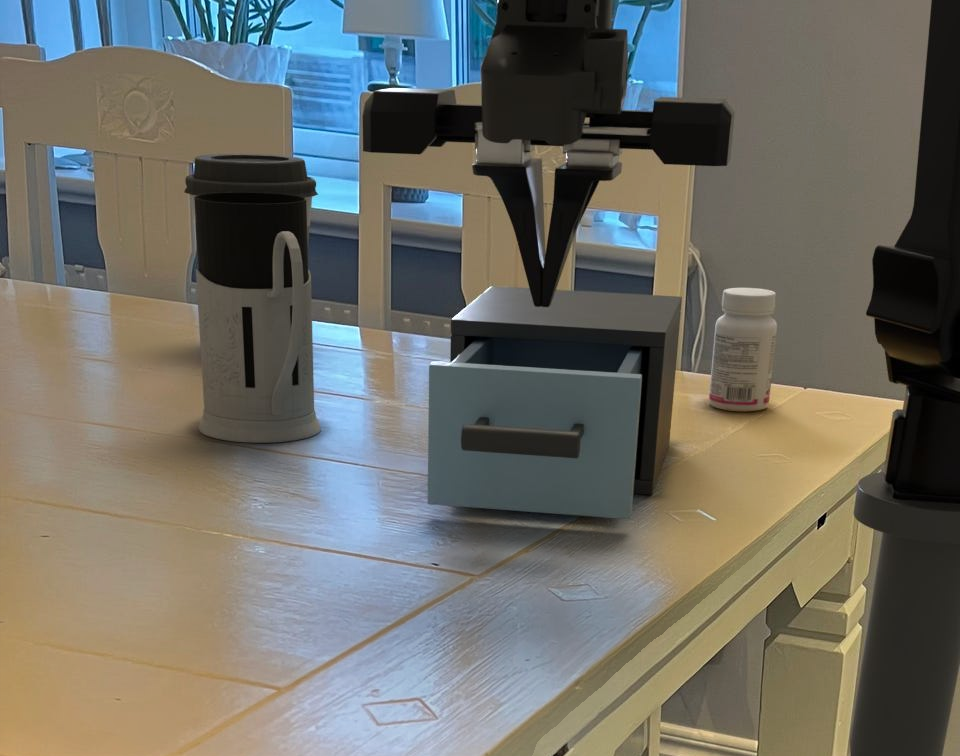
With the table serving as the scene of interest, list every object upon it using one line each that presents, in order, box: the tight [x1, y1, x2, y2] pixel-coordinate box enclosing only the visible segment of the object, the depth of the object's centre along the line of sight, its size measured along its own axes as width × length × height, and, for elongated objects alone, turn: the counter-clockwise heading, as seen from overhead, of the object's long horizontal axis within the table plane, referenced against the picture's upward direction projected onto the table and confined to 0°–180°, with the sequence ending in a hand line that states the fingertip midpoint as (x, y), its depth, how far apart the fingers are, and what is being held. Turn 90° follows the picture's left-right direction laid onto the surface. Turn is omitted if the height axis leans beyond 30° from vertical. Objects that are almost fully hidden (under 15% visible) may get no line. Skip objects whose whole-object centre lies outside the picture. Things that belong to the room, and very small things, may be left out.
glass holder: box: [194, 192, 322, 444], centre depth 109 cm, size 9×14×15 cm, turn 24°
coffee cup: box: [184, 153, 319, 242], centre depth 138 cm, size 11×11×15 cm
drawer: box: [427, 337, 646, 520], centre depth 96 cm, size 18×12×8 cm, turn 170°
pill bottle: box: [708, 287, 778, 412], centre depth 124 cm, size 5×5×8 cm
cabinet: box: [449, 285, 683, 496], centre depth 106 cm, size 15×13×10 cm
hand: (542, 306), depth 87 cm, fingers closed
